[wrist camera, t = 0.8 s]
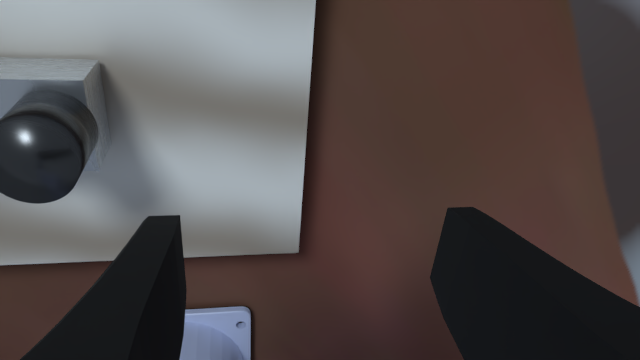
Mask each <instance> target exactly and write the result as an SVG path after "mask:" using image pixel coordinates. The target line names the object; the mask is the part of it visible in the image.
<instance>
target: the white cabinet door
mask: <svg viewBox="0 0 640 360" xmlns="http://www.w3.org/2000/svg"><path fill="white" fill-rule="evenodd" d="M315 6H316V0H0V57H13V58H51V59H89V60H99V65H100V72H101V78H102V84H103V91H104V97H105V103H106V110H107V116H108V122H109V129H110V135H111V142H112V144H111V146H110V148H109V150H108V152H107V154H106V157H105V159H104V161H103V163H102V165H101V167H100V170H99V171H82V173H81V175H80V177H79V179H78V181H77V183H76V185H75V186H74V188H73V189H72V190H71V192H70V193H68V194H67V195H66V196H64V197H63V198H61V199H59V200H56V201H53V202H49V203H41V204H35V203H26V202H21V201H18V200H15V199H12V198H10V197H7V196H5V195H4V194H2V193H0V265H18V264H42V263H66V262H90V261H113V260H114V259H115V258H116V257H117V256H118V254H119V253H120V252H121V250H122V249H123V248H124V247H125V245H126V244H127V243H128V241H129V240H130V239H131V237H132V236H133V235H134V233H135V232H136V230H137V229H138V228H139V226H140V225H141V223H142V222H143V221H144V220H145V219H146V218H147V217H148V216H164V215H180V221H181V232H182V244H183V256H184V258H185V257H208V256H232V255H256V254H280V253H299V238H300V224H301V209H302V195H303V180H304V166H305V151H306V137H307V122H308V107H309V93H310V78H311V64H312V49H313V35H314V20H315Z"/></svg>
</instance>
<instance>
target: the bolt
mask: <svg viewBox="0 0 640 360" xmlns="http://www.w3.org/2000/svg"><path fill="white" fill-rule="evenodd" d="M111 144H112V142H111V135H110V129H109V122H108V116H107V110H106V103H105V97H104V91H103V84H102V78H101V72H100V65H99V60H89V59H51V58H13V57H0V193H2V194H4V195H5V196H7V197H10V198H12V199H15V200H18V201H21V202H26V203H35V204H41V203H49V202H53V201H56V200H59V199H61V198H63V197H64V196H66V195H67V194H68V193H70V192H71V190H72V189H73V188H74V186H75V185H76V183H77V181H78V179H79V177H80V175H81V173H82V171H99V170H100V167H101V165H102V163H103V161H104V159H105V157H106V154H107V152H108V150H109V148H110V146H111Z"/></svg>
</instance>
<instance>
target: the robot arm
mask: <svg viewBox="0 0 640 360" xmlns="http://www.w3.org/2000/svg"><path fill="white" fill-rule="evenodd" d="M430 279H431V282H432V285H433V288H434V292H435V295H436V298H437V301H438V304H439V306H440V309H441V312H442V315H443V317H444V320H445V322H446V324H447V326H448V328H449V330H450V332H451V334H452V336H453V338H454V340H455V342H456V344H457V346H458V348H459V350H460V352H461V354H462V356H463V358H464V360H640V307H638V306H636V305H634V304H632V303H630V302H628V301H627V300H625V299H623V298H621V297H619V296H617V295H615V294H614V293H612V292H610V291H608V290H607V289H605V288H603V287H601V286H600V285H598V284H596V283H595V282H593V281H591V280H589V279H588V278H586V277H584V276H583V275H581V274H579V273H577V272H576V271H574V270H573V269H571V268H569V267H568V266H566V265H564V264H563V263H561V262H560V261H558V260H556V259H555V258H553V257H552V256H550V255H549V254H547V253H546V252H544V251H542V250H541V249H539V248H538V247H536V246H535V245H533V244H532V243H530V242H529V241H527V240H525V239H524V238H522V237H521V236H519V235H518V234H516V233H515V232H513V231H512V230H510V229H509V228H507V227H506V226H504V225H502V224H501V223H499V222H498V221H496V220H495V219H493V218H491V217H490V216H488V215H487V214H485V213H483V212H481V211H480V210H478V209H476V208H474V207H458V208H448V209H447V213H446V217H445V221H444V224H443V228H442V232H441V236H440V240H439V244H438V248H437V252H436V256H435V260H434V264H433V268H432V272H431V276H430ZM185 307H186V280H185V268H184V256H183V244H182V232H181V221H180V215H164V216H148V217H147V218H146V219H145V220H144V221H143V222H142V223H141V225H140V226H139V228H138V229H137V230H136V232H135V233H134V235H133V236H132V237H131V239H130V240H129V241H128V243H127V244H126V245H125V247H124V248H123V249H122V250H121V252H120V253H119V254H118V256H117V257H116V258H115V259H114V261H113V262H112V263H111V264H110V266H109V267H108V268H107V269H106V270H105V272H104V273H103V274H102V275H101V276H100V278H99V279H98V280H97V281H96V282H95V284H94V285H93V286H92V287H91V288H90V289H89V290H88V292H87V293H86V294H85V295H84V296H83V297H82V298H81V299H80V300H79V301H78V302H77V303H76V305H75V306H74V307H73V308H72V309H71V310H70V311H69V312H68V313H67V314H66V315H65V316H64V317H63V318H62V320H61V321H60V322H59V323H58V324H57V325H56V326H55V327H54V328H53V329H52V330H51V331H50V332H49V333H48V334H47V335H46V336H45V337H44V338H43V339H42V340H40V341H39V342H38V343H37V344H36V345H35V346H34V347H33V348H32V349H31V350H30V351H29V352H28V353H27V354H26V355H24V356H23V357H22V358H21V359H20V360H251V312H250V310H249V309H248V308H247V307H243V306H238V307H221V308H205V309H188V310H185ZM238 322H243V323H238Z"/></svg>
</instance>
